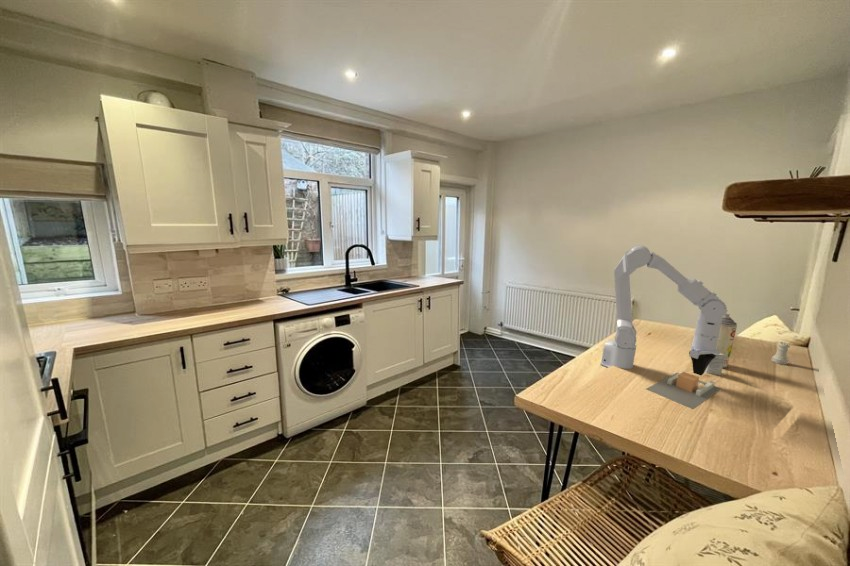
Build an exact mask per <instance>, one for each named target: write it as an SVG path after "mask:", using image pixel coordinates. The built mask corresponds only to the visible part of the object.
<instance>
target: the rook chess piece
mask: <svg viewBox="0 0 850 566" xmlns="http://www.w3.org/2000/svg"><path fill="white" fill-rule="evenodd" d="M777 346H778V347H777V351H776V353H775V354H774V355H772V357H771V359H770V360H771V362H772V363H775V364H779V365H783V366H786V365H788V364H789V359H788V356H787V355H788V352H789V348H791V346H790V343H789V342H787V343H786V342H783V341H779V342H778V343H777Z"/></svg>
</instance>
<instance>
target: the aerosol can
mask: <svg viewBox="0 0 850 566" xmlns="http://www.w3.org/2000/svg"><path fill="white" fill-rule="evenodd" d="M721 322H722V324H721V328H720V333H719V337H718V342H717V346H716V350H719V351H721V352H720V353H722V354H723V355H725V358H724V363H723V367H722V369H727V368H728V365H729V361H730V358H731V353H732V348H733V344H734V341H735V336H736V331H737V328H738V326H737V325H738V323H737V322H736V321H735V320H734V319H732V317H731V316H730V313H726V314H725V315H724V316H722V321H721ZM726 367H727V368H726Z"/></svg>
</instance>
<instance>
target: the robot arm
mask: <svg viewBox="0 0 850 566" xmlns="http://www.w3.org/2000/svg"><path fill="white" fill-rule="evenodd" d="M644 266H647V268H649V269H650V268H651V269H655V270H658V271H659V272H661V273H662V274H663V275H665V276H666V277H667V278H668V279H670V281H672V282H673V283H675V285H677V292H678V293H680V294H681V295H682V296H683V297H684V298H686V299H687V300H688V301H689V303H691V304H693V305H694V306H697V307H698V309H699V312H698V317H697V319H696V324H695V330H694V334H693V338H692V339H693V340H692V343H691V346H690V350H689V352H688V354H689V355H688V356H689V357H690V359H691V362H692V363H691V364H692V371H693V372H692V373H693V374H696V375H698V376H702V375H704V374H705V373H706V372H705V370H706V368H707V366H708V365H709V363H710V362H711V361H712V360H713V359H714V358H715V357H716V355H715V354H720V352H721V351H719V350H716V346H717V342H718V337H719V333H720V328H721V324H722V322H721V321H722V316H724V315H725V314H726V313H727V312H728V309H727V305H726V303H725V302H724V301H722V299H720V297H719V296H717V293H715V292H714V291H711V290H710V289H708V288H707V287H705V286H704V282H702V280H700V279H698V280H697V279H696V278H688V277H686V276H685V275H684V274H682V273H681V272H680V271H679V270H678V269H676V268H675V267H674V266H673V265H671V263H669V261H667V260H666V259H665V258H663V257H662V256H661V255H660V254H657V253H656V252H654V251H652V250H650V249H649V248H648V247H646V246H645V245H635V246H632V248H630V249H628V250H627V251H626V252H625V253H624V255H623V256H622V257H621V259H620V261H619V262H618V264H617V265H616V266H615V268H614V269H613V279H614V292H615V308H616V320H617V321H616V323H617V324H616V329H615V336H614V339H613V340H607V341H606V342H605V344H604V345H603V348H602V355H601V362H599V365H600V366H603V367H607V368H610V367H612V366H613V367H616V368H619V369H622V370H632V369H633V368H634V362H635V355H636V351H637V329H636V328H635V327H634V324H633V313H632V297H631V294H632V293H631V281H630V275H632V274H633V272H635V271H636V270H637V269H640V268H643V267H644ZM713 353H715V354H713Z"/></svg>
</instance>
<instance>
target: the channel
mask: <svg viewBox="0 0 850 566" xmlns="http://www.w3.org/2000/svg"><path fill="white" fill-rule="evenodd" d="M682 372H684V371H680V372H676V373H673V374H672V375H670V376H668V377H665V378H664V379H662V380H659V381H658V382H655V383H654V384H653V385H650V386H649V387H647V388H645V390H647V391H648V392H651V393H654V394H657V395H659V396H661V397H663V398H666V399H668V400H670V401H672V402H675V403H677V404H680V405H682V406H685V407H687V408H689V409H691V410H694V409H696V408H697V407H698V406H700V405H701V404H702V403H704V402H705V401H707V400H709V399H710V398H711V397H713V396H714V395H716V394H717V393H718V392H720V391H721V390H722V389H723V388H722V387H719V386H716V385H715V382H714V381H712V380H710V381H708V382H705V381H702V380H700V379H699V381H698V383H700V384H703V385H702V386H701V387H698V386H697V389H696V390H694V391H693V392H689V391H687V390H684V389H682V388H679V387H676V383H677V378H678V375H679V374H680V373H682Z"/></svg>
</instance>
